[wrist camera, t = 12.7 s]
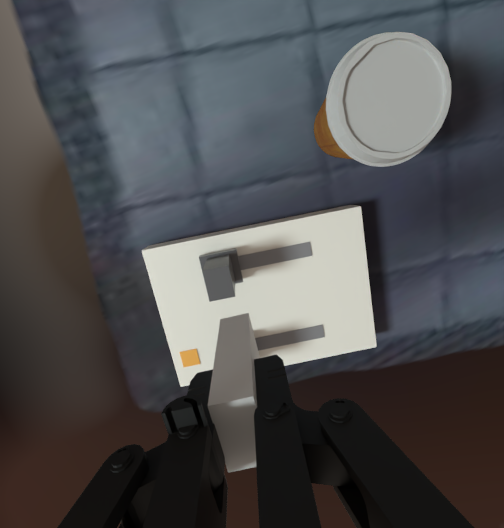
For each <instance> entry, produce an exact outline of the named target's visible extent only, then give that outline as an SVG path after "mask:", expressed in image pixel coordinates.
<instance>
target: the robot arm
mask: <svg viewBox="0 0 504 528" xmlns="http://www.w3.org/2000/svg"><path fill="white" fill-rule="evenodd" d="M188 390H189V391H188V393H187V396H183V397H180V398H177V399H175V400H174V401H172V402H170V403H169V404H168V405H167V406H166V407H165V408H164V410H163V412H162V413H161V415H162V417H163V420H164V423H165V426H166V429H167V431H168V434H169V435H168V439H167V441H166V442H165V443H163V444H161V445H159V446H157V447H155V448H153V449H151V450H149V451H147V452H144V449H143V448H142V447H141V446H140V445H135V444H133V445H127V446H125V447H123V448H120V449H118V450H117V451H115V452H114V453H113V454H111V455H110V456H109V457H108V459H107V460H106V461H105V462H104V463H103V465H102V466H101V467H100V469H99V470H98V472H97V473H96V474H95V476H94V477H93V479H92V480H91V481H90V483H89V484H88V486H87V487H86V488H85V490H84V491H83V493H82V494H81V495H80V497H79V498H78V500H77V501H76V502H75V504H74V505H73V506H72V508H71V509H70V511H69V512H68V514H67V515H66V516H65V518H64V519H63V521H62V522H61V523H60V525H59V526H58V527H57V528H117V526H118V525H119V523H120V522H121V524H120V526H119V528H226V517H227V492H228V491H227V490H228V487H227V481H226V478H225V475H224V465H225V464H226V467H227V470H228V472H233V471H238V470H243V469H247V468H252V467H256V468H257V487H258V508H259V525H260V528H321V524H320V520H319V515H318V511H317V506H316V502H315V498H314V493H313V489H312V484H311V483H316V484H324V485H333V487H334V490H335V492H336V493H337V495H338V497H339V499H340V500H341V502H342V503H343V505H344V507H345V509H346V510H347V512H348V514H349V515H350V517H351V519H352V521H353V522H354V524H355V526H356V527H357V528H474V527H473V526H472V525H471V524H470V523H469V522H468V521H467V520H466V519H465V518H464V516H463V515H462V514H461V513H460V512H459V511H458V510H457V509H456V508H455V507H454V506H453V505H452V504H451V503H450V501H448V500H447V498H446V497H445V496H444V495H443V494H442V493H441V492H440V491H439V490H438V489H437V488H436V487H435V486H434V485H433V483H431V482H430V480H429V479H428V478H427V477H426V476H425V475H424V474H423V473H422V472H421V471H420V470H419V469H418V468H417V466H416V465H415V464H414V463H413V462H412V461H411V460H410V459H409V458H408V457H407V456H406V455H405V454H404V453H403V452H402V451H401V449H400V448H399V447H398V446H397V445H396V444H395V443H394V442H393V441H392V440H391V439H390V438H389V437H388V436H387V435H386V434H385V432H384V431H383V430H382V429H381V428H380V427H379V426H378V425H377V424H376V423H375V422H374V421H373V420H372V419H371V418H370V417H369V416H368V415H367V413H365V411H364V410H363V409H362V408H361V407H360V406H359V405H358V404H356V403H355V402H354V401H351V400H347V399H333V400H330V401H328V402H326V403H324V404H323V405H322V406H321V408H320V409H319V412H317V411H306V410H303V409H301V408H299V407H297V406H296V405H295V404H294V403H293V400H292V398H291V393H290V389H289V385H288V380H287V376H286V372H285V367H284V363H283V360H282V359H281V358H280V357H279V356H278V355H277V354H276V355H271V356H267V357H262V358H260V356H259V352H258V348H257V344H256V340H255V336H254V332H253V328H252V324H251V320H250V316H249V313H246V314H241V315H237V316H232V317H228V318H223V319H220V325H219V332H218V339H217V346H216V352H215V359H214V366H213V369H212V370H208V371H203V372H199V373H197V374H196V375H195V376H194V377H193V379H192V380H191V381H190V385H189V389H188Z"/></svg>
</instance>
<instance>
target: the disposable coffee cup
mask: <svg viewBox="0 0 504 528" xmlns="http://www.w3.org/2000/svg"><path fill="white" fill-rule="evenodd" d="M450 101H451V79H450V75H449V70H448V66H447V65H446V63H445V61H444V59H443V57H442V55H441V53H440V52H439V51H438V50H437V49H436V48H435V47H434V46H433V45H432V44H431V43H430V42H429V41H428V40H426V39H424V38H422V37H419V36H417V35H415V34H413V33H404V32H394V33H388V32H387V33H382V34H377V35H374V36H371V37H369V38H367V39H365V40H362V41H361V42H360V43H358V44H357V45H355V46H354V47H353V48H352V49H351V50H350V51H349V52H348V53H347V54H345V56H344V57H343V58H342V60H341V61H340V62H339V64H338V65H337V67H336V69H335V71H334V73H333V75H332V77H331V79H330V83H329V87H328V91H327V95H326V98H325V100H324V102H323V104H322V106H321V108H320V110H319V112H318V114H317V116H316V119H315V123H314V134H315V138H316V141H317V143H318V145H319V147H320V148H321V149H322V150H323V151H324V152H325V153H327V154H328V155H330V156H333V157H339V158H347V159H355V160H356V161H358V162H360V163H363V164H366V165H370V166H379V167H384V166H392V165H396V164H400V163H402V162H405V161H407V160H409V159H411V158H412V157H414V156H415V155H417V154H418V153H420V152H421V151H422V150H423V149H424V148H425V147H426V146H427V145H428V144H429V142H430V141H431V140H432V138H433V137H434V136H435V135H436V134H437V132H438V131H439V129H440V128H441V126H442V124H443V122H444V120H445V118H446V116H447V113H448V109H449V106H450Z"/></svg>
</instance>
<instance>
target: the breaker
mask: <svg viewBox="0 0 504 528" xmlns="http://www.w3.org/2000/svg"><path fill="white" fill-rule="evenodd" d="M199 260H200V264H201V269H202V273H203V277H204V281H205V285H206V289H207V293H208V297H209V301H210V302H211V301H216V300H221V299H226V298H231V297H235V284H236V283H241V282H243V277H242V272H241V267H240V263H239V258H238V253H237V249H236V248H234V249H229V250H224V251H219V252H214V253H209V254H204V255H200V256H199Z"/></svg>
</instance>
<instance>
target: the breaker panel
mask: <svg viewBox="0 0 504 528" xmlns="http://www.w3.org/2000/svg"><path fill="white" fill-rule="evenodd" d="M234 248H236V249H237V253H238V258H239V263H240V267H241V272H242V277H243V282H241V283H236V284H235V297H231V298H226V299H221V300H216V301H211V302H210V301H209V297H208V293H207V289H206V285H205V281H204V277H203V273H202V269H201V264H200V260H199V256H200V255H204V254H209V253H214V252H219V251H224V250H229V249H234ZM142 253H143V257H144V260H145V264H146V267H147V271H148V274H149V278H150V281H151V285H152V288H153V292H154V295H155V299H156V302H157V306H158V309H159V313H160V316H161V320H162V323H163V327H164V330H165V334H166V337H167V341H168V344H169V348H170V351H171V355H172V358H173V362H174V365H175V369H176V372H177V376H178V379H179V383H180V386H181V387H182V386H187V385H190V381H191V380H192V379H193V377H194V376H195V375H196V374H197V373H199V372H203V371H208V370H212V369H213V366H214V359H215V352H216V346H217V339H218V332H219V325H220V319H223V318H228V317H232V316H237V315H241V314H246V313H249V316H250V320H251V324H252V328H253V332H254V336H255V340H256V344H257V348H258V352H259V356H260V358H262V357H267V356H271V355H276V354H277V355H278V356H279V357H280V358H281V359H282V360H283V363H284V366H286V365H290V364H295V363H300V362H305V361H310V360H315V359H320V358H325V357H330V356H335V355H340V354H344V353H349V352H354V351H359V350H364V349H369V348H374V347H377V346H376V337H375V328H374V319H373V310H372V301H371V292H370V283H369V274H368V265H367V256H366V247H365V238H364V229H363V220H362V211H361V206H357V205H347V206H342V207H337V208H332V209H327V210H322V211H317V212H312V213H307V214H302V215H297V216H292V217H288V218H283V219H278V220H273V221H268V222H263V223H258V224H253V225H248V226H243V227H238V228H233V229H228V230H223V231H218V232H214V233H209V234H204V235H199V236H194V237H189V238H184V239H179V240H174V241H169V242H164V243H159V244H154V245H149V246H148V247H146V248H145V249H143V250H142Z"/></svg>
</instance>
